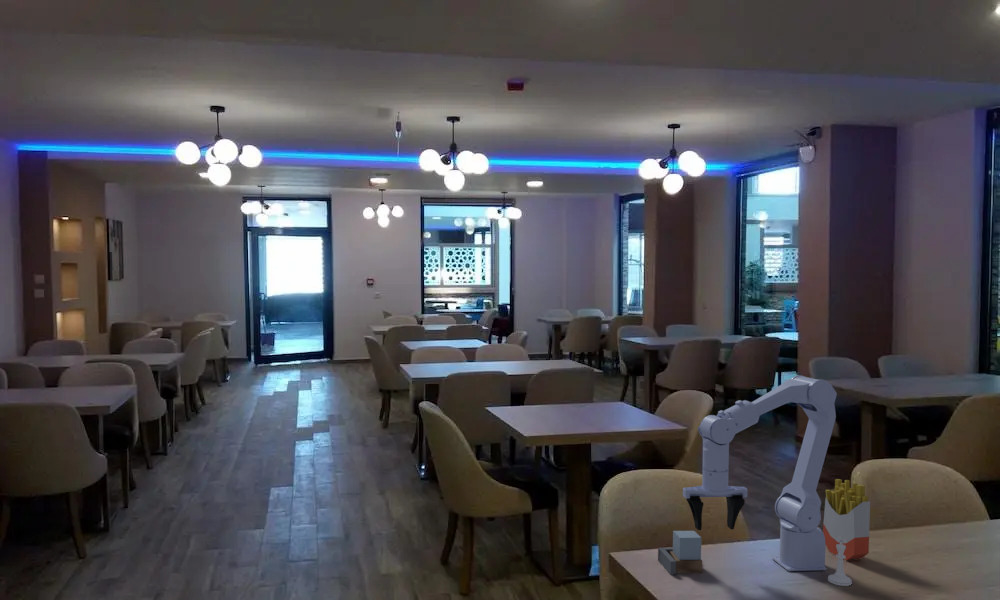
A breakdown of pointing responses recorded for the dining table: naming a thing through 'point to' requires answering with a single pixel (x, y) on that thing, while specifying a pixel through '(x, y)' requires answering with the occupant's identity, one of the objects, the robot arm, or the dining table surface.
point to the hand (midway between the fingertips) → (714, 528)
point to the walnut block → (687, 565)
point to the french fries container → (847, 519)
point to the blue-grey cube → (687, 545)
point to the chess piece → (840, 567)
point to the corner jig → (667, 560)
